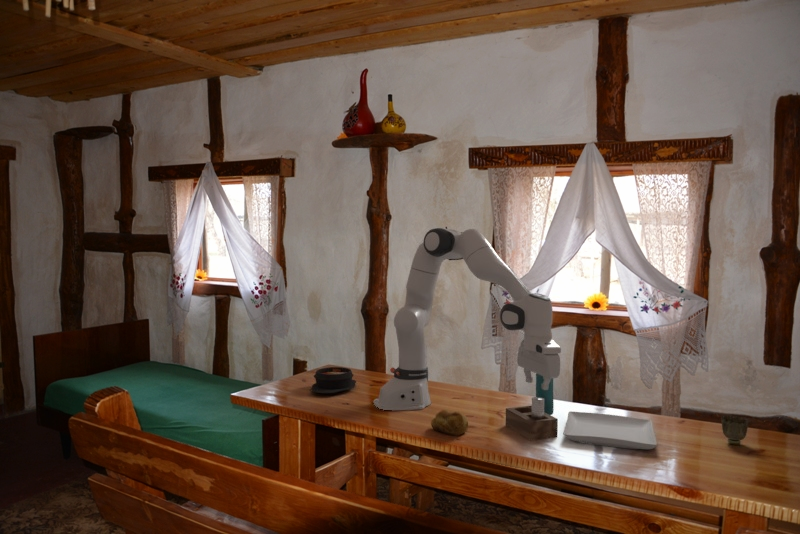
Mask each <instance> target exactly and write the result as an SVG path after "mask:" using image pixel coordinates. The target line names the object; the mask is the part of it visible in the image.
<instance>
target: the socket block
mask: <svg viewBox="0 0 800 534" xmlns="http://www.w3.org/2000/svg"><path fill="white" fill-rule="evenodd" d="M531 413H532V405H523V406H514V407H506V408H505V426H506V427H508V428H509V429H510V430H512V431H513V432H516V433H517V434H519V435H520V436H522V437H524V438H526V439H527V440H529V441H531V440H532V441H537V440H539V441H540V440H546V439H553V438H554V439H555V438H558V430H559V429H558V428H559V427H558V421H559V420H558V418H557V417H555V416H553V415H549V414H547V413H545V412H544V419H541V420H533V419H532V418H531ZM532 441H531V442H532Z"/></svg>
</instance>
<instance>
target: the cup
mask: <svg viewBox="0 0 800 534" xmlns="http://www.w3.org/2000/svg"><path fill="white" fill-rule="evenodd" d="M720 418H721V419H720V420H721V429H722V433H723V435H724V437H725V438H727V442H728V443H727V444H730V445H732V446H740V445H741V444H742V441H743V440H744V439H745V438H746V437H747V433H748V427H749V420H748V419H747V418H744V417H740V418H739V416H738V415H736V416H735V415H733V416H732V417H731V415H728V416H727V415H723V416H722V415H721V417H720Z"/></svg>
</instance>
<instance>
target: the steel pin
mask: <svg viewBox="0 0 800 534" xmlns="http://www.w3.org/2000/svg"><path fill="white" fill-rule="evenodd" d="M531 406H532V413H531V418H532V419H533V420H541V419H544V398H541V397H536V396H533V397H531Z"/></svg>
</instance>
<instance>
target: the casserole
mask: <svg viewBox="0 0 800 534" xmlns="http://www.w3.org/2000/svg"><path fill="white" fill-rule="evenodd" d="M354 376H355V375H354V373H353V371H352V369H350V368H347V367H342V366H329V367H322V368H319V369H317V370H316V371H315V374H314V375H313V377H314V379H315V383H313V384H312V385H311V387H310V389H309V391H311V392H312V393H317V394H327V395H328V394H337V393H344V392H347V391H348V390H349V391H350V390H351V389H353V388H355V387H356V383H357V380H355V379H353V377H354Z"/></svg>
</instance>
